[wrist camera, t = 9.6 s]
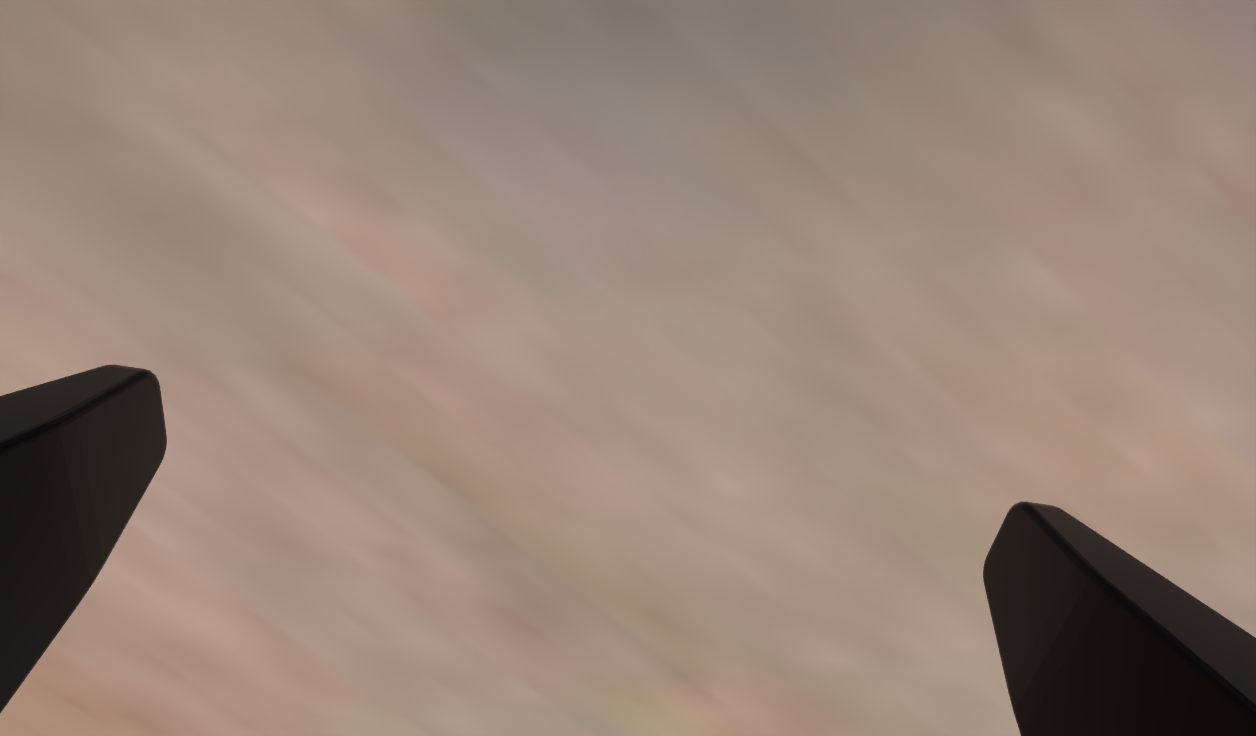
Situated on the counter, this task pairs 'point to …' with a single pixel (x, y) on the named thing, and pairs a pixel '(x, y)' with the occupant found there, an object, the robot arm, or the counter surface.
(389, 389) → the counter surface
